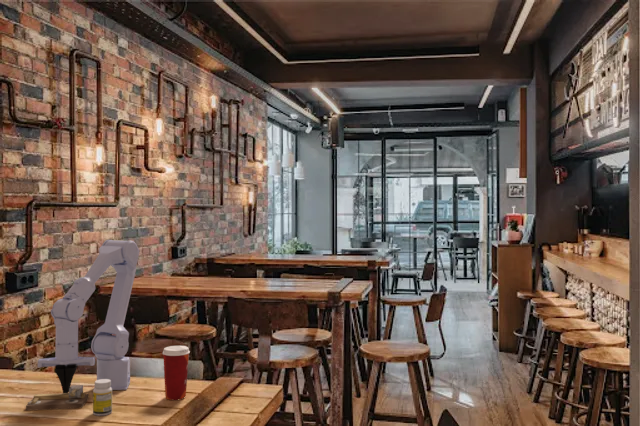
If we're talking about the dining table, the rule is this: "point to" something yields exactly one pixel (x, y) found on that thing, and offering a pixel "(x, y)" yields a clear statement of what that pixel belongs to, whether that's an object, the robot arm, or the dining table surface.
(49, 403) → the wooden mechanism board
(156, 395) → the dining table surface
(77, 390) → the sliding leg
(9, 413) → the dining table surface
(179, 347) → the paper cup
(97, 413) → the supplement bottle
